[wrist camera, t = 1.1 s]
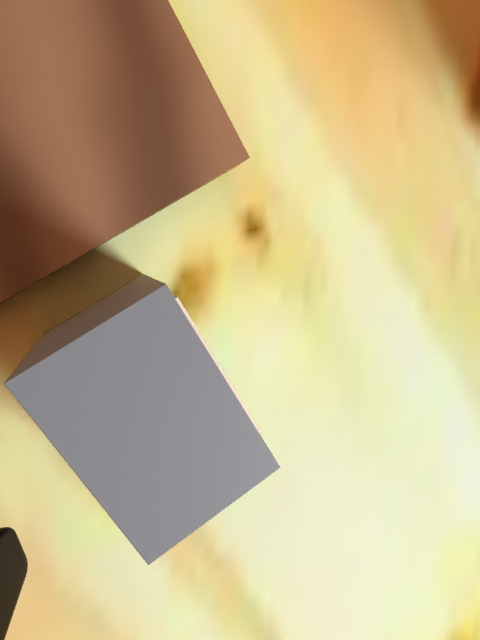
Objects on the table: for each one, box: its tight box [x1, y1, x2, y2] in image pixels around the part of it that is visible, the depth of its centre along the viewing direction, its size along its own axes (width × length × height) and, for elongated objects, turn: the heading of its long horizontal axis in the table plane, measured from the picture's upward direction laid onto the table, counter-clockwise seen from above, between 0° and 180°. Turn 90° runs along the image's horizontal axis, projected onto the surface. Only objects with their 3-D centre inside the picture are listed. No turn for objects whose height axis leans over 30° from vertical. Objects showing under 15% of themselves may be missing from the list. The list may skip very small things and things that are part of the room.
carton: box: [4, 274, 280, 565], centre depth 17 cm, size 5×7×8 cm
